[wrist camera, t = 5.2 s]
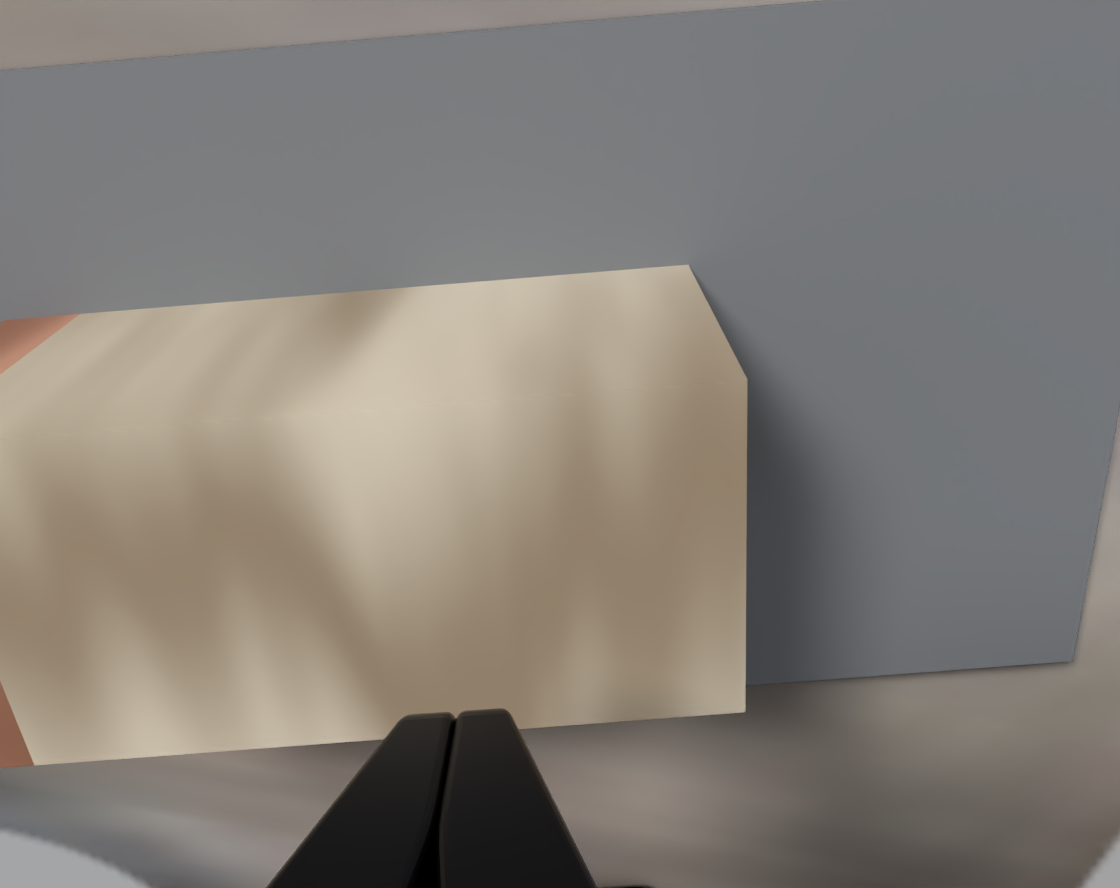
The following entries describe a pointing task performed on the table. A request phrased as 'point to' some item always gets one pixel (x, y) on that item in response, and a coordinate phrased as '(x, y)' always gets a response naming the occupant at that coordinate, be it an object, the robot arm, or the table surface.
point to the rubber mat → (687, 258)
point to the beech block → (369, 515)
